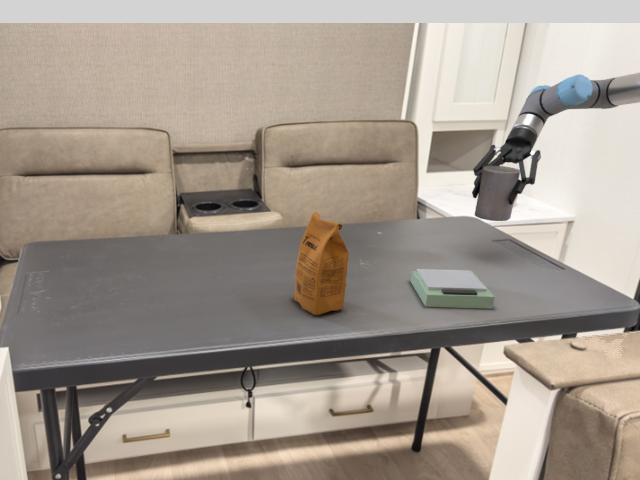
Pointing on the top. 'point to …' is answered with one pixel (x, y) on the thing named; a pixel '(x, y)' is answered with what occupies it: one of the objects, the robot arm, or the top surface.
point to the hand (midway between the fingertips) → (491, 198)
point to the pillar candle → (496, 193)
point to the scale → (451, 289)
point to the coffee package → (321, 267)
